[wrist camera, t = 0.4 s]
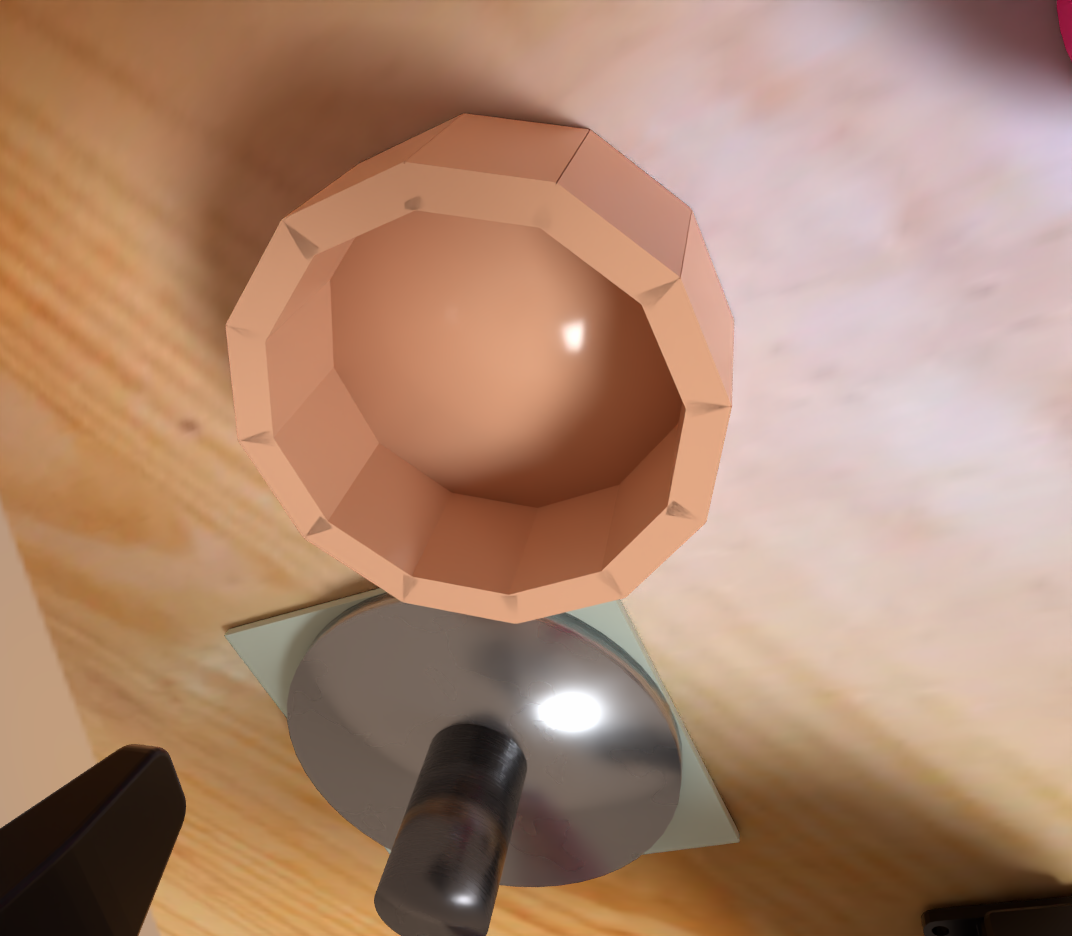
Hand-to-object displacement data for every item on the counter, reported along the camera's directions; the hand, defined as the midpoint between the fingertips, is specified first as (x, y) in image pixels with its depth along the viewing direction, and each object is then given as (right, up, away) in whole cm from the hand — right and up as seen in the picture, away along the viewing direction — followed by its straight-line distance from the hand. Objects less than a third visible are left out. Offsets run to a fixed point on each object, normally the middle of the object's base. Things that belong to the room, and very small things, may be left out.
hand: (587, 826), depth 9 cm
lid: (-2, -5, +19) cm, 20 cm away
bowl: (-1, +6, +13) cm, 14 cm away
